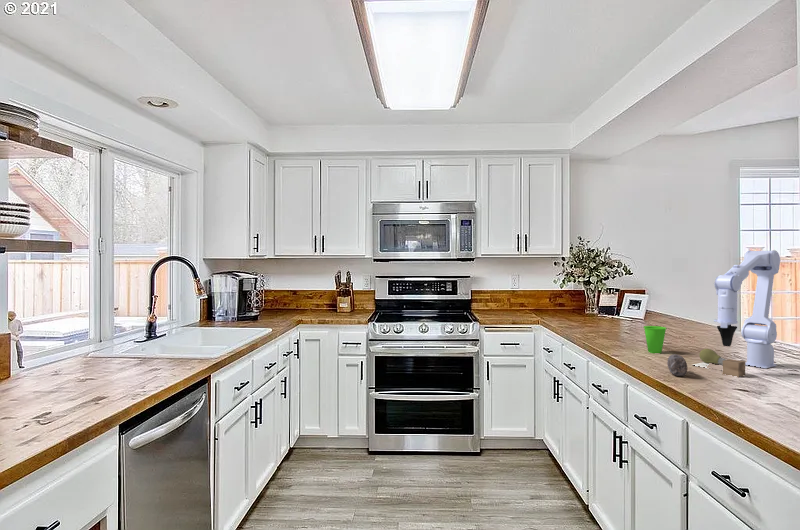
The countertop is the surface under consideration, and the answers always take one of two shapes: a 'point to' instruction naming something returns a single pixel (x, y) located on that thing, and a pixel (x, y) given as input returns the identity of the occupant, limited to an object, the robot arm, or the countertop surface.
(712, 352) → the light bulb
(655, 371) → the countertop surface
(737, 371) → the walnut block
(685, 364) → the perforated stone tool
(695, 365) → the letter
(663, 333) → the cup
